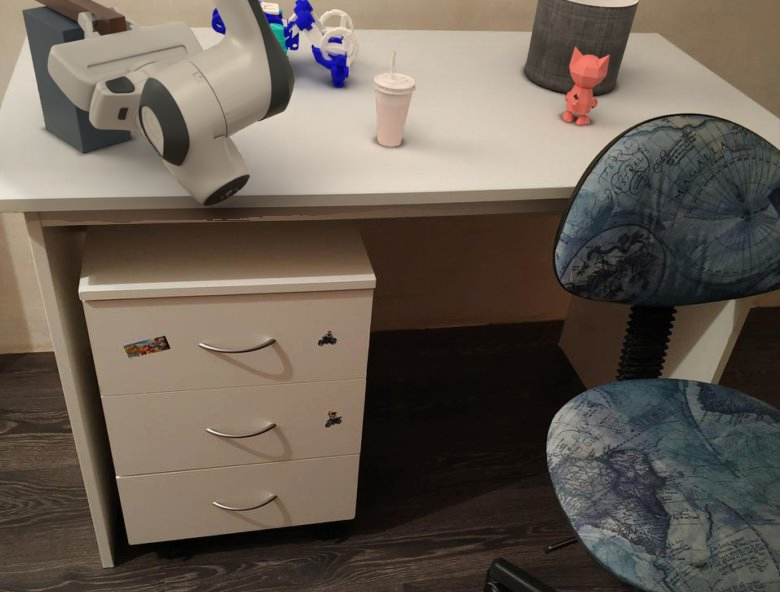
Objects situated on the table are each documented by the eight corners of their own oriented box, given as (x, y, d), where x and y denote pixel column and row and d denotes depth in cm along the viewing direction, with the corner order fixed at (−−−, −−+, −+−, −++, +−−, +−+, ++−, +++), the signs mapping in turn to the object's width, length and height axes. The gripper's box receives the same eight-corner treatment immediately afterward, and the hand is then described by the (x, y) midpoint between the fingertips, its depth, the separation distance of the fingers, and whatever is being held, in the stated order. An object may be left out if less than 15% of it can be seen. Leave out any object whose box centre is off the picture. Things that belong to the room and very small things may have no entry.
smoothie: (365, 133, 128) (371, 43, 119) (403, 132, 130) (412, 43, 121) (374, 150, 124) (381, 58, 115) (414, 150, 125) (424, 58, 116)
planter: (622, 100, 149) (648, 11, 139) (528, 90, 149) (546, 0, 138) (607, 67, 163) (629, -17, 152) (520, 57, 162) (536, -28, 152)
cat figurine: (599, 119, 142) (618, 49, 134) (589, 132, 137) (608, 61, 129) (561, 109, 144) (577, 40, 136) (549, 121, 139) (566, 50, 131)
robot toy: (363, 23, 134) (209, 10, 129) (356, 95, 141) (211, 84, 137) (354, -5, 145) (213, -18, 141) (348, 63, 153) (214, 52, 148)
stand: (83, 153, 115) (62, 31, 104) (45, 129, 119) (21, 9, 108) (131, 138, 120) (116, 20, 109) (93, 116, 124) (75, 0, 113)
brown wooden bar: (111, 39, 102) (108, 19, 100) (28, -3, 111) (24, -22, 110) (127, 35, 103) (125, 16, 102) (44, -6, 113) (41, -24, 111)
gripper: (228, 62, 106) (168, -18, 107) (91, 96, 94) (25, 6, 95) (215, 95, 111) (158, 19, 112) (83, 132, 99) (20, 45, 100)
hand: (96, 13), depth 104 cm, fingers closed on brown wooden bar, 2 cm apart
